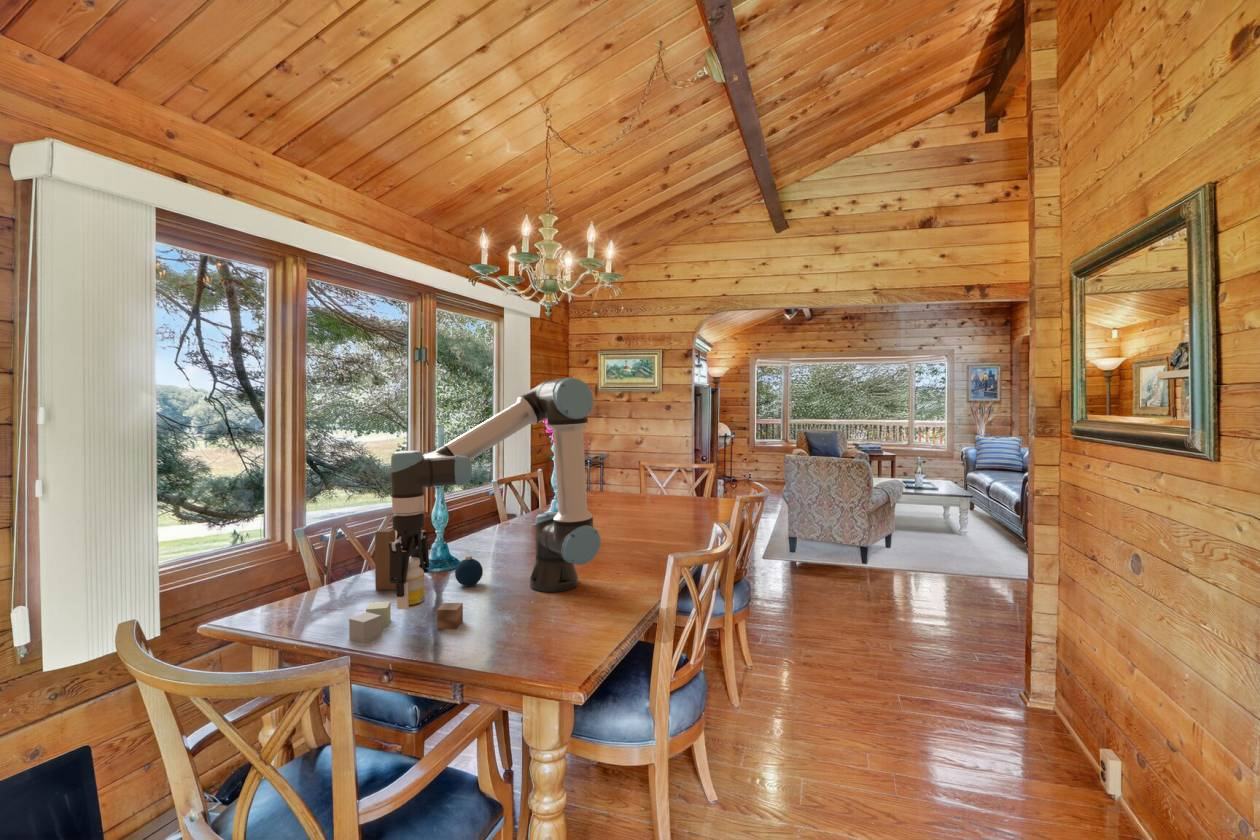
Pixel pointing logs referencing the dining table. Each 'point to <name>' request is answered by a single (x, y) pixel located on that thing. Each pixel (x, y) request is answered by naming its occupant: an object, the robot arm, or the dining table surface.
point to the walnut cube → (449, 615)
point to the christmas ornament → (468, 571)
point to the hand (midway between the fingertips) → (411, 603)
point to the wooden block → (383, 559)
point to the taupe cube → (365, 627)
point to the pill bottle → (415, 583)
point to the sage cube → (381, 611)
